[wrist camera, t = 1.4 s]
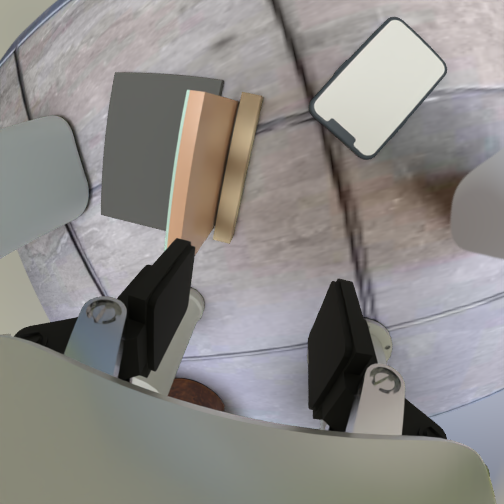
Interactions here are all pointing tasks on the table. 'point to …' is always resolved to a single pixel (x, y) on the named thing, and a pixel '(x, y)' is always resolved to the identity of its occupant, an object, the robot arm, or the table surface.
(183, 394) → the case
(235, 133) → the tile stand
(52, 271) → the table surface
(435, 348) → the table surface
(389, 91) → the phone case
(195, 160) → the tile
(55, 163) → the plastic bottle
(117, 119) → the rubber mat
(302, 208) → the table surface
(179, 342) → the bottle
